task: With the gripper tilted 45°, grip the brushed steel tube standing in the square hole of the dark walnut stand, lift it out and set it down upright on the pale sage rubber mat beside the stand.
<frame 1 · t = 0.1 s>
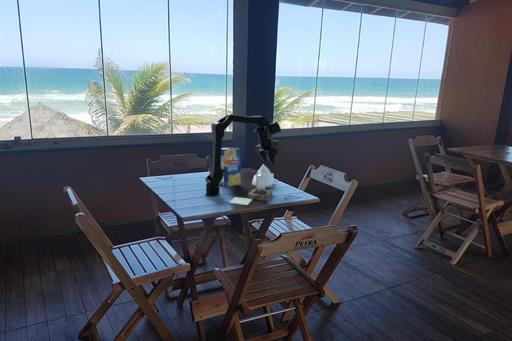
hand: (268, 163, 218), 15 cm above the table, tool pointing down, fingers open, 9 cm apart
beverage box: (229, 184, 229), on the table
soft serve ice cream: (263, 185, 230), on the table
walnut stand: (260, 196, 206), on the table
sage mat: (241, 201, 197), on the table
steel tube: (260, 185, 204), in the walnut stand
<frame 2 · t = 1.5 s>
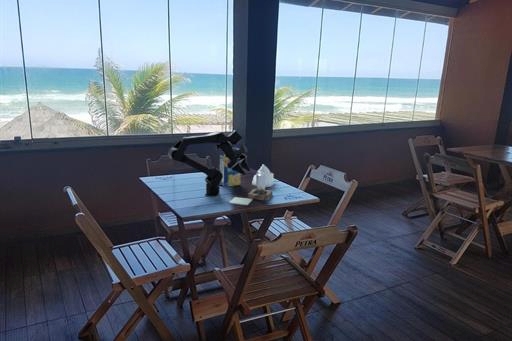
hand: (247, 172, 204), 13 cm above the table, tool tilted 45°, fingers open, 9 cm apart
nothing on the table moved.
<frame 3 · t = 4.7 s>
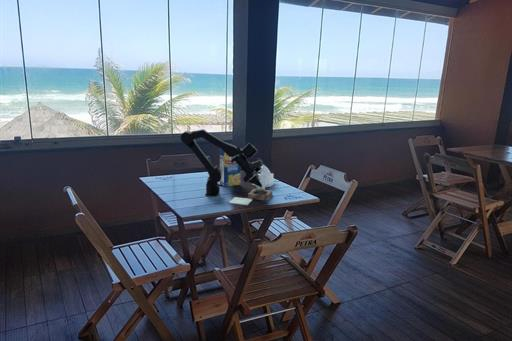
hand: (263, 185, 204), 7 cm above the table, tool tilted 45°, fingers closed on steel tube, 5 cm apart
steel tube: (260, 185, 204), in the walnut stand, touching gripper
everything else where it was.
when the fingers open (8 cm above the table, at t = 9.7 s): steel tube drops 1 cm, resting on sage mat.
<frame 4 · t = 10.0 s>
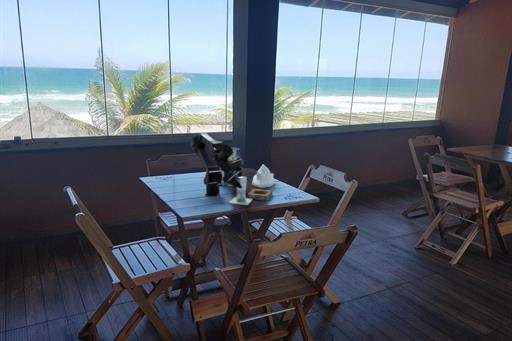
hand: (243, 185, 194), 9 cm above the table, tool tilted 45°, fingers open, 8 cm apart
steel tube: (241, 188, 195), on the sage mat
everything else where it was.
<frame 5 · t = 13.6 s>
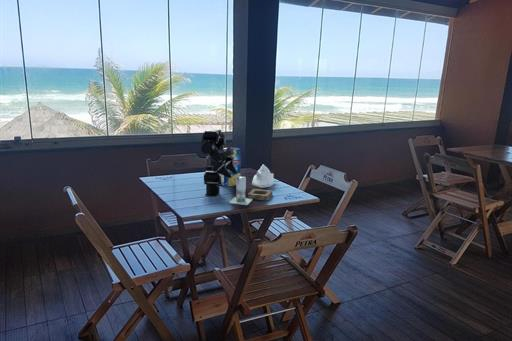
hand: (233, 175, 194), 14 cm above the table, tool tilted 45°, fingers open, 9 cm apart
nothing on the table moved.
at the end: steel tube 0.1 cm off-centre on the sage mat, point 6.7 cm above the sage mat's base; steel tube tilted 1°; the gripper is holding nothing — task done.
